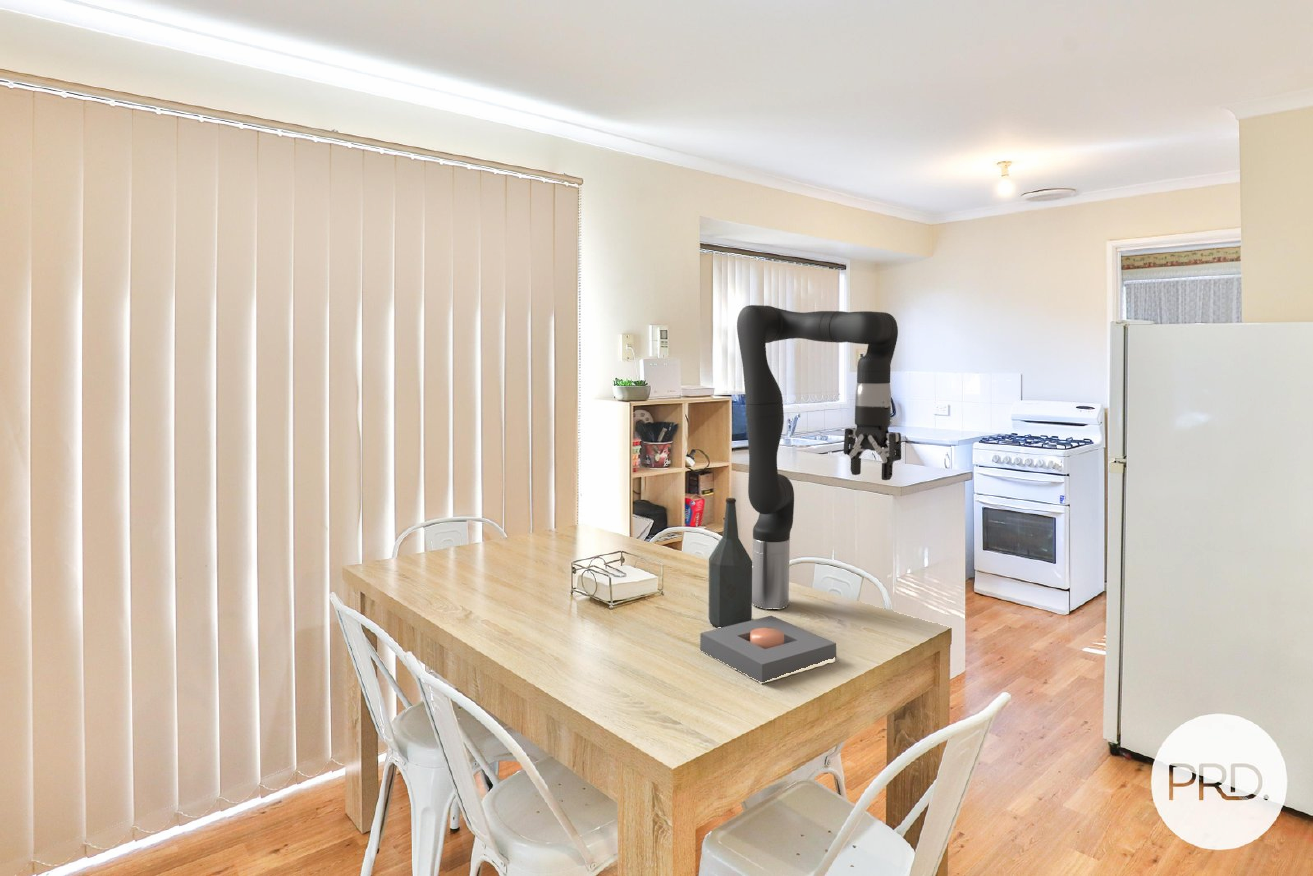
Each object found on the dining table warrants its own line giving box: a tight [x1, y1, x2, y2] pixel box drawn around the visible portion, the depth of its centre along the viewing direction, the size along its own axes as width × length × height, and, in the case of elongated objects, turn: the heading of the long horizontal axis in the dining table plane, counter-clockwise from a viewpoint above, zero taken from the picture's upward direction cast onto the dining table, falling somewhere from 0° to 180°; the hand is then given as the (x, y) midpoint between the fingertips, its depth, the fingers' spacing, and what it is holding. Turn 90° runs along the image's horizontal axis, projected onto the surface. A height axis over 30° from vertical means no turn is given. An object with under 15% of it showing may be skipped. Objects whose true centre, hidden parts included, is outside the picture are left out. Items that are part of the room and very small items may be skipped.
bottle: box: [708, 497, 753, 628], centre depth 177 cm, size 10×10×30 cm
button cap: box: [750, 628, 784, 649], centre depth 159 cm, size 7×7×4 cm
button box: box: [699, 615, 837, 682], centre depth 159 cm, size 20×20×4 cm
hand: (870, 477), depth 167 cm, fingers open, 8 cm apart
